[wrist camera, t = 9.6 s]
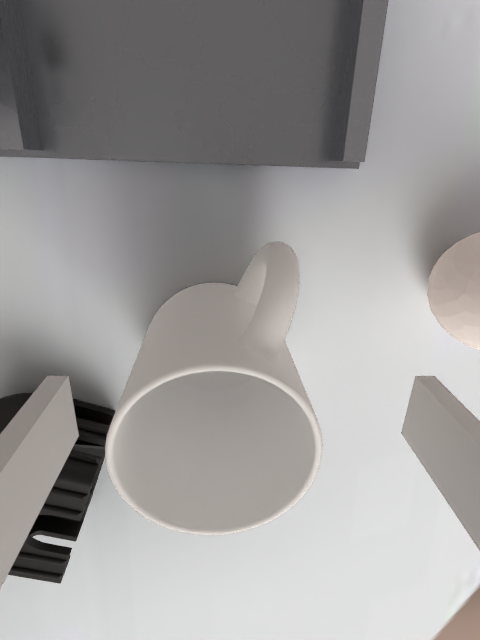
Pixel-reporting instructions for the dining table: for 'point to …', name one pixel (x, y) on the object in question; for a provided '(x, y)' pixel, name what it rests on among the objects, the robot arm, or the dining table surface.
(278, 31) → the dock
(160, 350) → the mug
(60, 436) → the robot arm
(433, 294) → the egg
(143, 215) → the dining table surface
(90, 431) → the end cap
